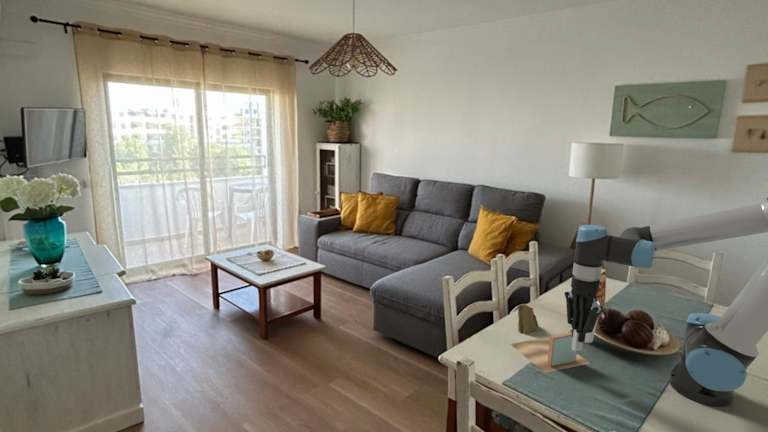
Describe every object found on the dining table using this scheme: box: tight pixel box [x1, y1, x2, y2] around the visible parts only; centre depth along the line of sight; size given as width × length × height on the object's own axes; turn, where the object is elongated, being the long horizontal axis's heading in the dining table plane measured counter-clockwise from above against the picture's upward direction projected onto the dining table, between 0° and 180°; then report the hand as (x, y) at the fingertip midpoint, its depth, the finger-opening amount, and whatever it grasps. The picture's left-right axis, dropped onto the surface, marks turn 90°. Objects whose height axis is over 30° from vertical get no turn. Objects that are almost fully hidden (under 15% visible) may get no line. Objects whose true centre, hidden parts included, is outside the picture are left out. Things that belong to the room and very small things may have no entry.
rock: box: [517, 304, 539, 335], centre depth 156 cm, size 11×9×10 cm
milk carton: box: [596, 268, 607, 311], centre depth 174 cm, size 9×9×20 cm
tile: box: [547, 331, 578, 367], centre depth 133 cm, size 2×10×10 cm, turn 108°
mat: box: [510, 336, 591, 374], centre depth 140 cm, size 18×18×1 cm
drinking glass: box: [583, 301, 600, 344], centre depth 148 cm, size 7×7×15 cm
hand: (576, 349), depth 127 cm, fingers closed
